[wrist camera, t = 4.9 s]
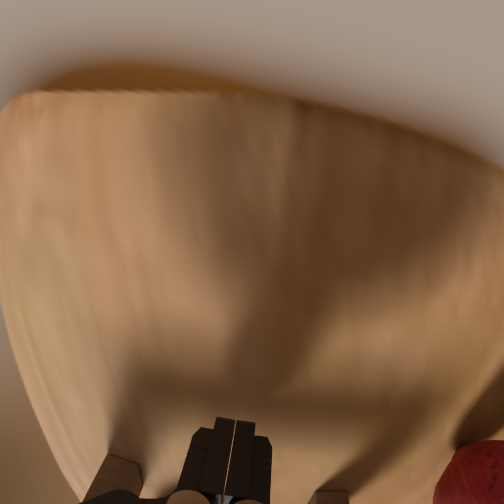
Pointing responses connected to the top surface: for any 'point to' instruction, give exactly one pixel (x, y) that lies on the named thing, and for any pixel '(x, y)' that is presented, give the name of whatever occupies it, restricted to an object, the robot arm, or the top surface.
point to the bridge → (128, 478)
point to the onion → (473, 475)
